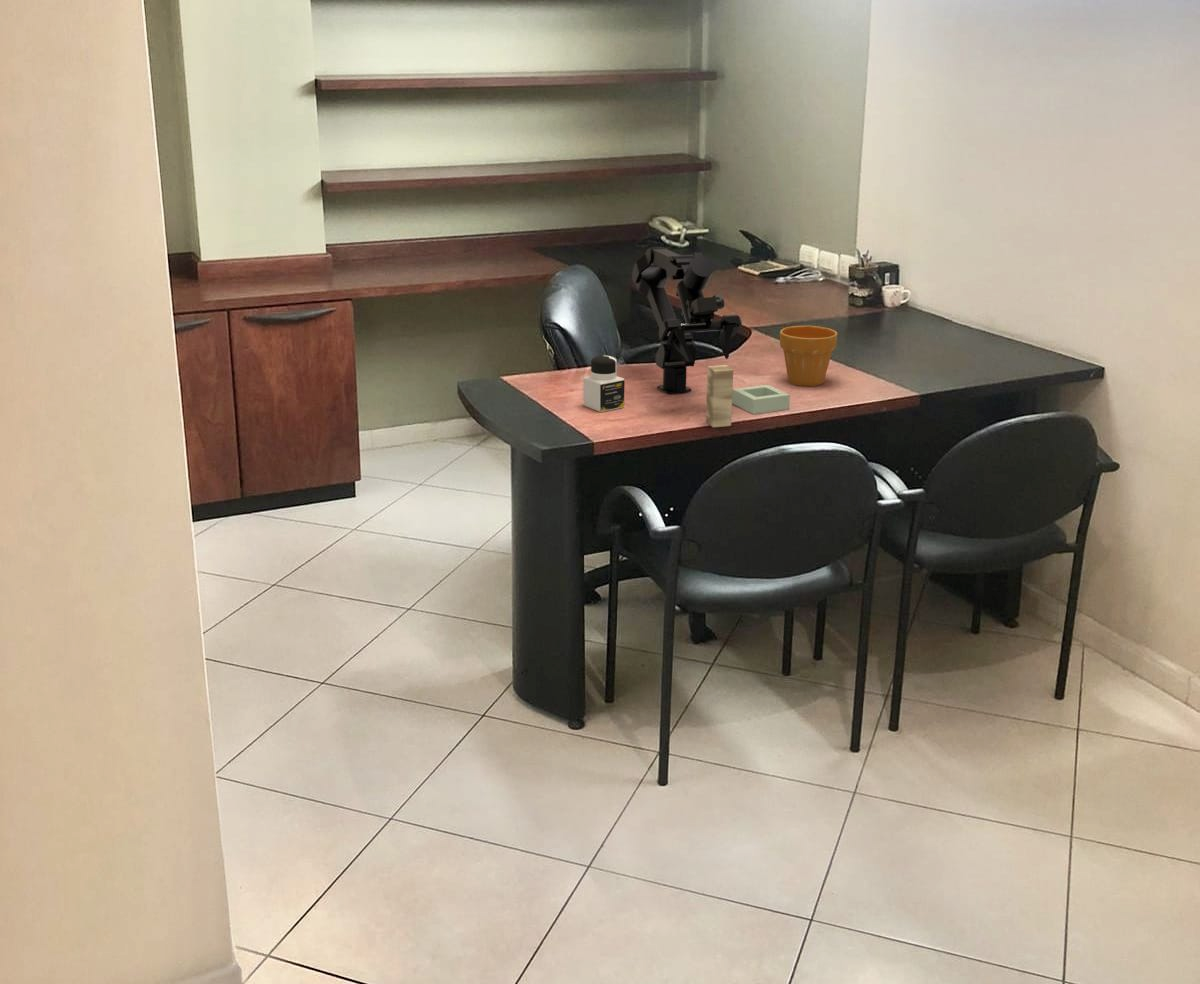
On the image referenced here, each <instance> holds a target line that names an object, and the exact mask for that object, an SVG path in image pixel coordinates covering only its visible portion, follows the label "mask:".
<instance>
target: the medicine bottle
mask: <svg viewBox="0 0 1200 984" xmlns="http://www.w3.org/2000/svg"><path fill="white" fill-rule="evenodd" d="M590 367H591V368H590V375H587V376H583V381H582V382H583V384H582V385H583V393H582V395H583V399H582V400H583V402H582V403H583V406H584V407H587V408H588V409H591V410H594V411H596V412H599V413H603V412H610V411H615V410H619V409H622V408H625V378H623V377H621V376H619V375H618V374H617V373H618V372H617V371H618V360H617V358H616V357H614V356H610V355H597V356H595V357H592V359H591V360H590ZM617 375H618V376H617Z"/></svg>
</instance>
